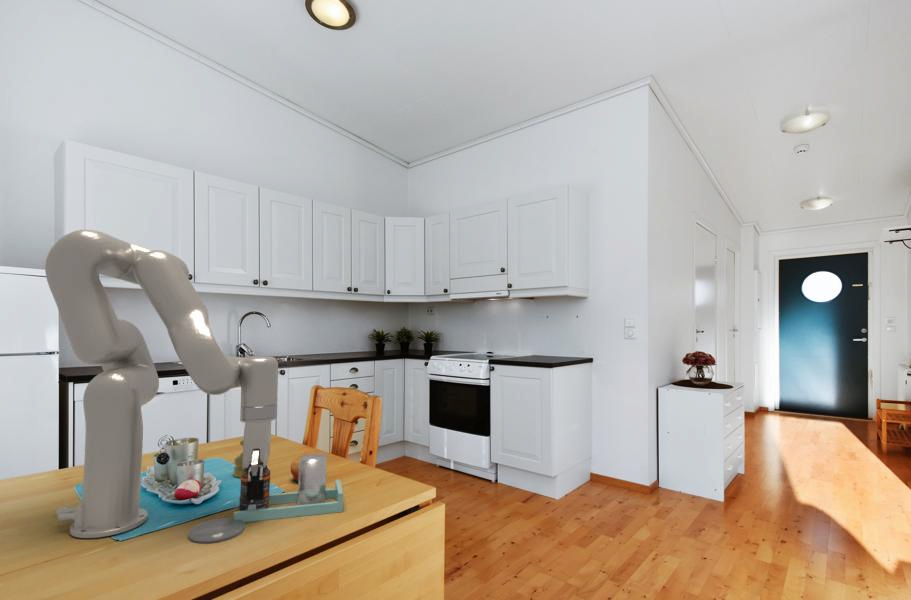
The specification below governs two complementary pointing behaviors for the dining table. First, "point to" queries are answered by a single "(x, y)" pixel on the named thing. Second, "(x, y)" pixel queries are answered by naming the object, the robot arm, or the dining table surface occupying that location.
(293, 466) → the fruit
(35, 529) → the dining table surface
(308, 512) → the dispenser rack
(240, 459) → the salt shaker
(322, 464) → the can
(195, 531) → the coaster
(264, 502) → the supplement bottle
